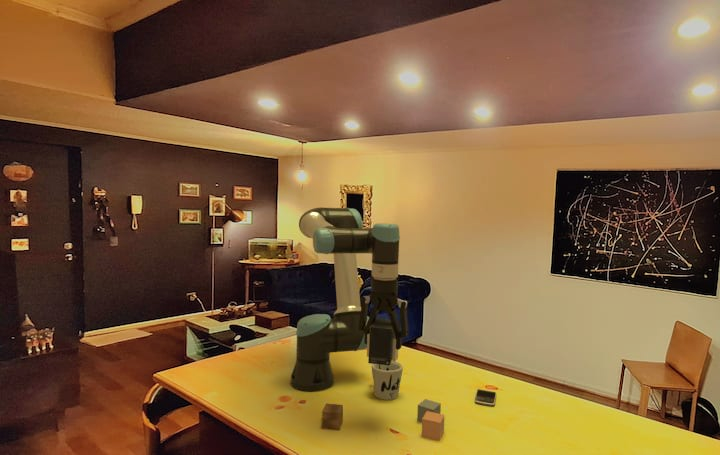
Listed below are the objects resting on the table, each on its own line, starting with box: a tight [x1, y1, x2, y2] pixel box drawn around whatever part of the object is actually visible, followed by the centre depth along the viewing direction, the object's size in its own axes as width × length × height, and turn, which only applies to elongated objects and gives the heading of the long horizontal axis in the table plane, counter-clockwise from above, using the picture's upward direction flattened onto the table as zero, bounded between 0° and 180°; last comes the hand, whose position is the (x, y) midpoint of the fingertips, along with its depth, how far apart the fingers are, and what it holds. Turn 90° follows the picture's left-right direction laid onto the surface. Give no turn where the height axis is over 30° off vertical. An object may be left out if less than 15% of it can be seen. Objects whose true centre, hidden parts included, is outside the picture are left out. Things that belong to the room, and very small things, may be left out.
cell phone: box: [474, 388, 497, 408], centre depth 141 cm, size 6×11×1 cm, turn 159°
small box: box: [367, 317, 395, 365], centre depth 122 cm, size 11×6×10 cm, turn 168°
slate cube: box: [416, 398, 442, 424], centre depth 125 cm, size 5×5×5 cm
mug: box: [371, 361, 404, 401], centre depth 144 cm, size 10×15×10 cm
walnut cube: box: [321, 402, 344, 431], centre depth 121 cm, size 5×5×5 cm
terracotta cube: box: [421, 411, 445, 442], centre depth 118 cm, size 5×5×5 cm
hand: (382, 357), depth 122 cm, fingers closed on small box, 7 cm apart
